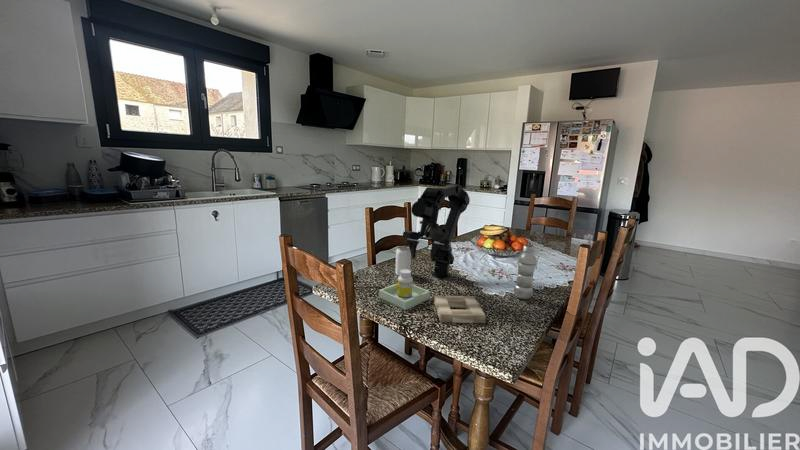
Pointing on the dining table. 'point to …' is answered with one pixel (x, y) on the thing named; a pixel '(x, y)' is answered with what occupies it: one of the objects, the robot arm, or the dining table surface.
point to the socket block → (455, 315)
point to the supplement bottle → (405, 284)
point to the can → (402, 259)
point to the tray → (391, 297)
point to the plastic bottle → (525, 273)
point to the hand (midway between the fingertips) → (422, 259)
